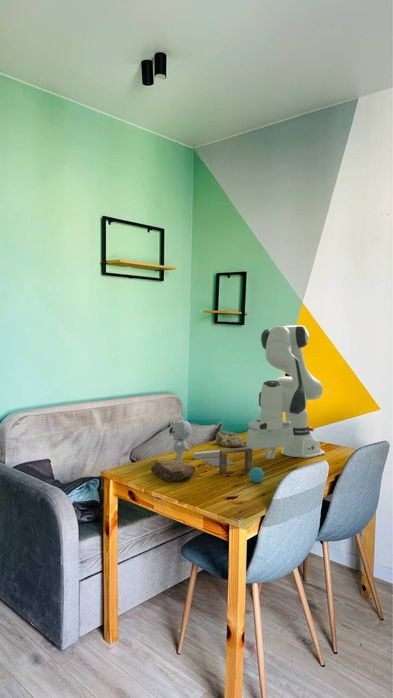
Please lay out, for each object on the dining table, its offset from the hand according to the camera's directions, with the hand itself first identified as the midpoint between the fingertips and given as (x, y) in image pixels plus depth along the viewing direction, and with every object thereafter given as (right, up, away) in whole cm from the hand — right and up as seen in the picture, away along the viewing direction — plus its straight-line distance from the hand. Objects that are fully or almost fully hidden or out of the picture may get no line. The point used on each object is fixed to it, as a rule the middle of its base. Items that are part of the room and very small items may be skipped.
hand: (270, 458), depth 183 cm
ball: (-4, -9, +9) cm, 13 cm away
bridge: (-11, -11, +24) cm, 29 cm away
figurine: (-9, -10, +70) cm, 71 cm away
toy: (-37, -10, +39) cm, 54 cm away
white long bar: (-23, -10, +47) cm, 53 cm away
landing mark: (-18, -11, +38) cm, 43 cm away
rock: (-39, -12, +14) cm, 43 cm away
